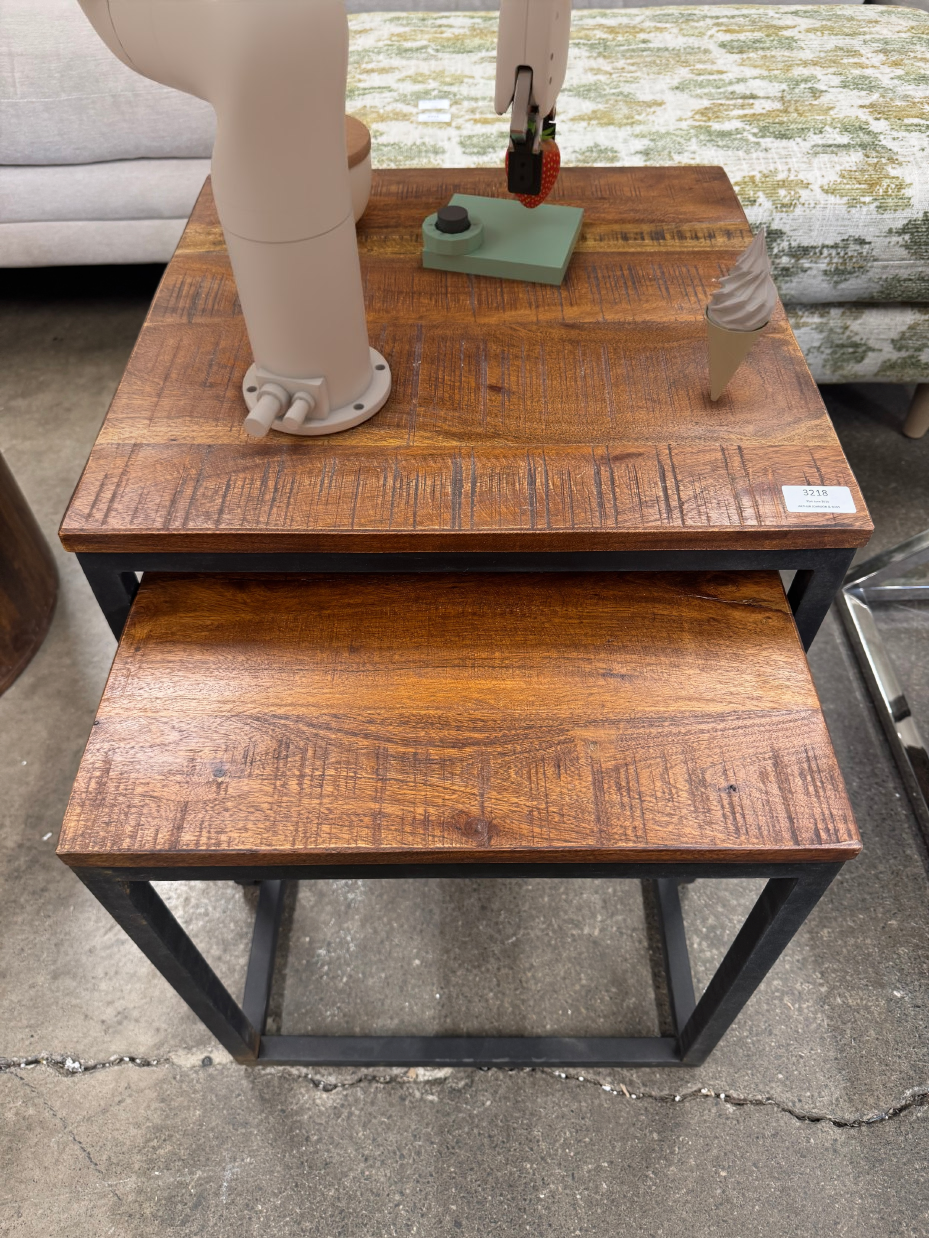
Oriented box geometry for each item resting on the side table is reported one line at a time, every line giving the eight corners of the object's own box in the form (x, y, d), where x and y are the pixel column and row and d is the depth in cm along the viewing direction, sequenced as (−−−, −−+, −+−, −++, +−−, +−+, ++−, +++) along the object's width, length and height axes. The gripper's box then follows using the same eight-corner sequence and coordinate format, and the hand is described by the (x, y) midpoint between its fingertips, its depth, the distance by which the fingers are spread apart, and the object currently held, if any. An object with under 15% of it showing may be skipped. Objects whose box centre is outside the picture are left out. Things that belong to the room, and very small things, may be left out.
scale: (559, 288, 82) (562, 254, 79) (417, 269, 84) (415, 235, 82) (582, 226, 89) (585, 192, 87) (450, 210, 92) (450, 177, 89)
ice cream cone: (734, 425, 69) (787, 250, 57) (675, 407, 71) (715, 232, 59) (752, 391, 72) (807, 217, 60) (695, 374, 73) (737, 201, 62)
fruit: (502, 218, 84) (504, 132, 77) (505, 193, 87) (506, 108, 80) (557, 219, 83) (563, 133, 77) (557, 194, 86) (563, 109, 80)
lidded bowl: (271, 199, 94) (250, 88, 85) (384, 199, 93) (374, 89, 85) (249, 258, 86) (223, 144, 77) (372, 259, 86) (360, 144, 77)
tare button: (463, 237, 82) (463, 222, 81) (434, 234, 83) (433, 218, 81) (471, 222, 84) (471, 207, 83) (442, 219, 84) (441, 203, 83)
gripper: (519, -82, 74) (513, 138, 89) (469, -20, 64) (471, 216, 79) (604, -77, 73) (584, 145, 87) (566, -13, 63) (550, 226, 77)
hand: (530, 177), depth 83 cm, fingers closed on fruit, 5 cm apart
